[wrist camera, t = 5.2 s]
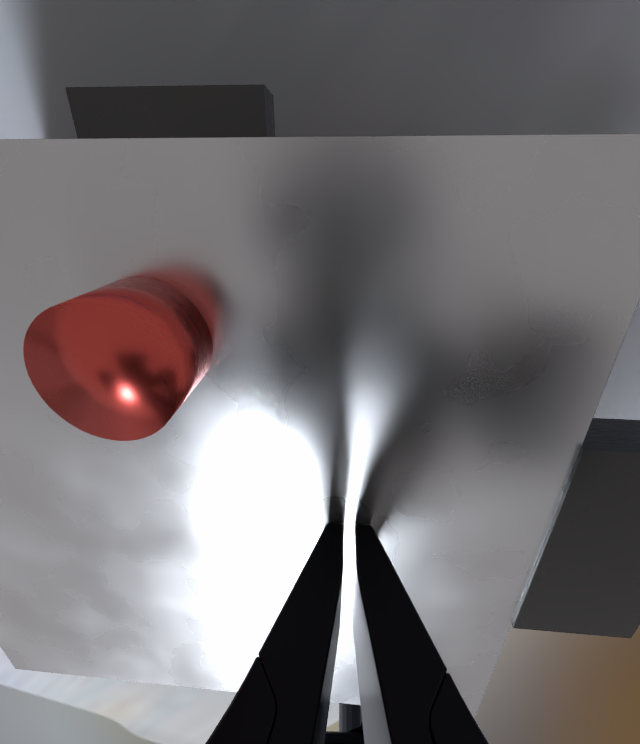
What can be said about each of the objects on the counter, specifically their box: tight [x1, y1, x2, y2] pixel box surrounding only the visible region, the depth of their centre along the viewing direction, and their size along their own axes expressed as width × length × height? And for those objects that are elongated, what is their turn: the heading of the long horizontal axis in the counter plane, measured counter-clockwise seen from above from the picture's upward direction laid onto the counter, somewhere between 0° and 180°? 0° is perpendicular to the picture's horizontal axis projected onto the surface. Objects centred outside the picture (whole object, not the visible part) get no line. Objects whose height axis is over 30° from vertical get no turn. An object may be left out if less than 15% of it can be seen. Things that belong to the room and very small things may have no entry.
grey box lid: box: [0, 134, 640, 717], centre depth 9 cm, size 17×20×3 cm
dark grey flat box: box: [66, 85, 275, 139], centre depth 14 cm, size 19×16×8 cm
